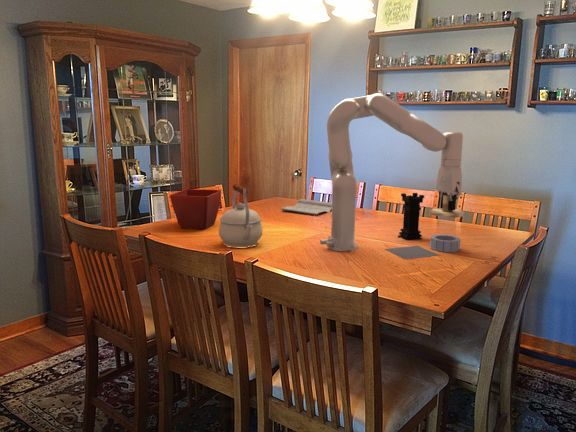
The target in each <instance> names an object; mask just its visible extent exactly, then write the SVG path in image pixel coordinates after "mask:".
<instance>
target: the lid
mask: <svg viewBox="0 0 576 432" xmlns="http://www.w3.org/2000/svg"><path fill="white" fill-rule="evenodd" d="M449 200H450V197H449V193H448V194H446V195H443V208H440V207H439V208H438V207H437V208H436V207H435V208H432V209H430V215H432V216H435V217H440V218H450V219H451V218H452V219H455V218H462V217H465V215H466V214H465V213H466V212H465V211H464V210H461V209H459V208H458V209H456V208H455V210H451V211H449V210H448V201H449Z"/></svg>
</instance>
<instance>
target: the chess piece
mask: <svg viewBox="0 0 576 432" xmlns="http://www.w3.org/2000/svg"><path fill="white" fill-rule="evenodd" d="M400 196H401V200H402V202H404V205H403V206H402V209H403V221H402V222H403V224H402V225H403V226H402V228H400V230H399V232H398V235H397V238H399V239H400V238H401V239H402V240H405V241H414V240H415V241H418V240H419V241H420V240H423V238H422V237H423V235H422V234H421V233H422V231H420V230H419V224H420V210H422V208H421V204H422V203H423V202H424V199H425V195H424V194H418V192H412V195H411V194H410V195H407V193H406V192H405V193H404V192H402V193H401V194H400Z"/></svg>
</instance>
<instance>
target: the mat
mask: <svg viewBox="0 0 576 432" xmlns="http://www.w3.org/2000/svg"><path fill="white" fill-rule="evenodd" d="M281 210H282V212H283V213H284V212H285V211H288V212H295V213H300V214H307V215H313V216H315V217H316V216H318V215H319V214H321V213H330V212H332V202H327V201H320V200H313V199H303V198H300V199H298V202H297V203H296V204H295V205H294V206H293V205H292V206H290V205H287V206H283V207H281Z"/></svg>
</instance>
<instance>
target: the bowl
mask: <svg viewBox="0 0 576 432" xmlns="http://www.w3.org/2000/svg"><path fill="white" fill-rule="evenodd" d="M429 244H430V246H429V247H430V249H431V250H433V251H436V252H441V253H456V252H459V251H460V249H461V238H460V237H458V236H455V235H451V234H450V235H449V234H433V235H432V236H430V243H429Z"/></svg>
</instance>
